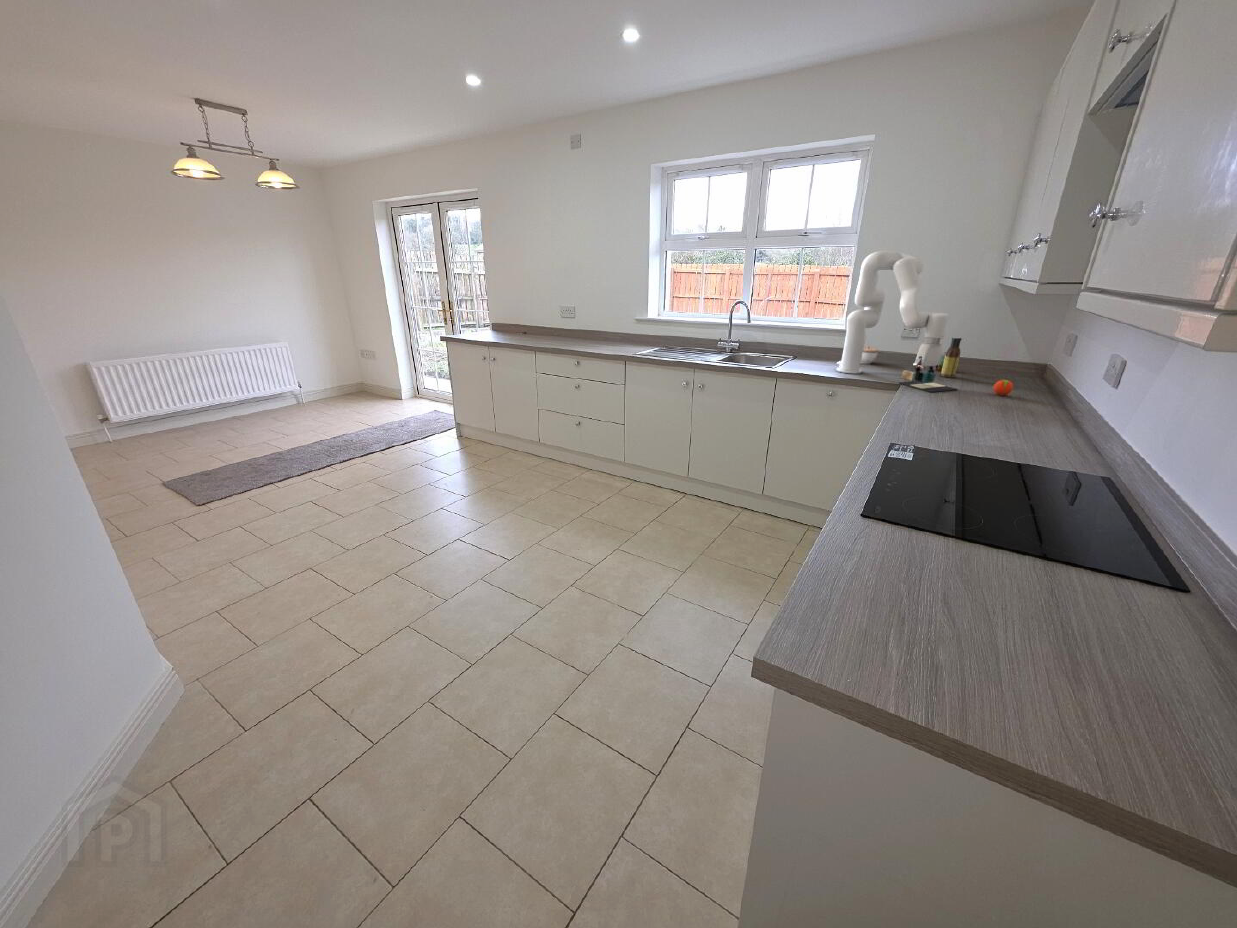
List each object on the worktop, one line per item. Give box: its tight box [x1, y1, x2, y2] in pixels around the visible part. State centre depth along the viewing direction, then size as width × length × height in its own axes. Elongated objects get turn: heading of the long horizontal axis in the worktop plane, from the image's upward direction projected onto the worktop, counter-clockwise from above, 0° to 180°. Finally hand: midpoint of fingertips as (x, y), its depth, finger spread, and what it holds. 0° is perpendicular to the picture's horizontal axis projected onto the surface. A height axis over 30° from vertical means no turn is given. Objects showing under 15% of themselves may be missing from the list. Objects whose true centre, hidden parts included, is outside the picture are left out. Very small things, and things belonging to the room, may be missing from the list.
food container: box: [935, 351, 947, 372], centre depth 262 cm, size 12×6×10 cm, turn 25°
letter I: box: [901, 369, 916, 382], centre depth 243 cm, size 6×2×4 cm, turn 18°
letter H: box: [913, 370, 936, 383], centre depth 227 cm, size 6×6×4 cm
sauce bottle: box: [940, 336, 962, 379], centre depth 246 cm, size 7×6×20 cm
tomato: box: [992, 379, 1014, 396], centre depth 215 cm, size 8×7×7 cm
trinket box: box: [860, 345, 879, 365], centre depth 280 cm, size 11×11×9 cm
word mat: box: [898, 381, 958, 394], centre depth 230 cm, size 18×16×1 cm
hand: (923, 379), depth 228 cm, fingers closed on letter H, 6 cm apart
